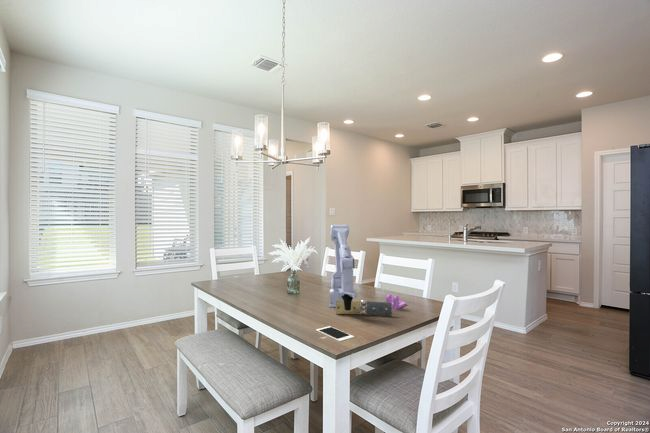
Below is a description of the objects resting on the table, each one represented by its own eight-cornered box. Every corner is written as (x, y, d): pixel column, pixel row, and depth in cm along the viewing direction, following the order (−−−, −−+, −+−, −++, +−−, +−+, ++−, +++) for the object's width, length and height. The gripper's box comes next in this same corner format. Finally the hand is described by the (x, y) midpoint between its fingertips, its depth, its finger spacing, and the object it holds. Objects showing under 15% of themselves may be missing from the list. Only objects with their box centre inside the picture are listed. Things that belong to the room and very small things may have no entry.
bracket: (395, 310, 167) (395, 296, 167) (386, 308, 170) (386, 294, 170) (407, 304, 177) (407, 292, 177) (397, 303, 180) (397, 290, 180)
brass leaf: (365, 313, 160) (365, 300, 160) (366, 314, 158) (366, 301, 158) (336, 312, 160) (336, 300, 160) (336, 314, 158) (336, 301, 158)
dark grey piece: (360, 314, 158) (360, 300, 158) (361, 313, 160) (361, 299, 160) (391, 316, 155) (391, 302, 155) (391, 315, 157) (391, 301, 157)
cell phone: (339, 342, 124) (339, 340, 124) (315, 331, 137) (315, 329, 137) (354, 338, 129) (354, 336, 129) (329, 327, 141) (329, 325, 141)
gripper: (333, 280, 162) (333, 307, 162) (348, 285, 149) (348, 314, 149) (345, 279, 165) (345, 305, 165) (360, 283, 152) (361, 312, 152)
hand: (347, 309), depth 157 cm, fingers closed, pressing on brass leaf
